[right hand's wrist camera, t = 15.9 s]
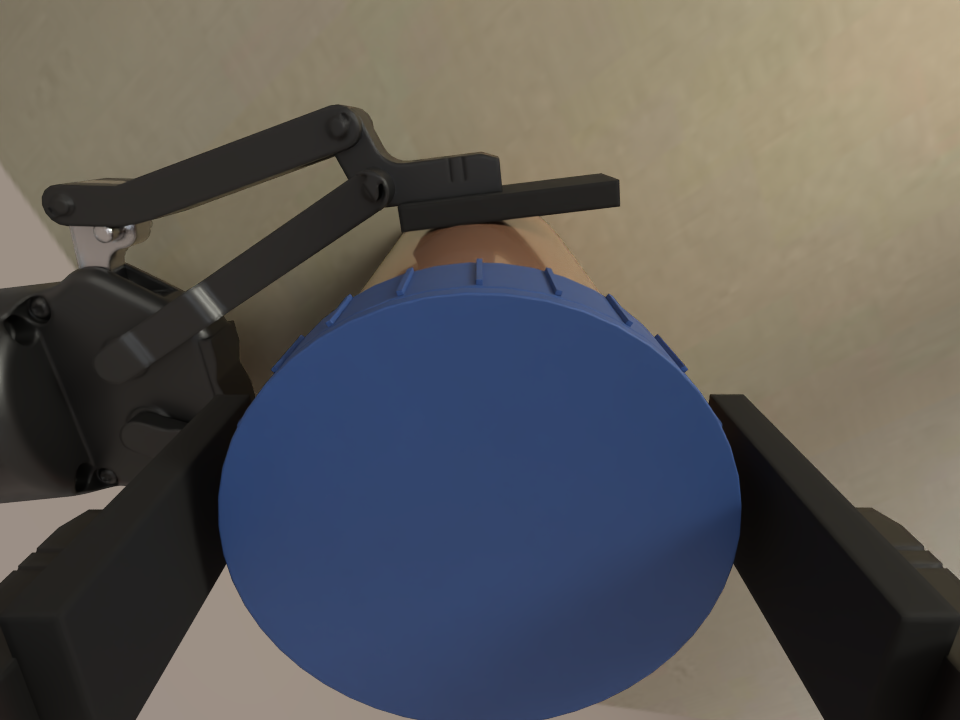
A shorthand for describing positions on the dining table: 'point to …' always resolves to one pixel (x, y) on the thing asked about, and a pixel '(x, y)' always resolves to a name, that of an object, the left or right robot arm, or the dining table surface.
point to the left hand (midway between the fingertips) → (614, 328)
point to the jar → (483, 249)
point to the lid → (479, 497)
